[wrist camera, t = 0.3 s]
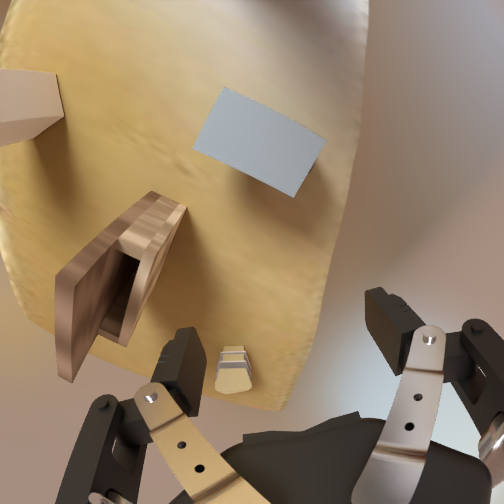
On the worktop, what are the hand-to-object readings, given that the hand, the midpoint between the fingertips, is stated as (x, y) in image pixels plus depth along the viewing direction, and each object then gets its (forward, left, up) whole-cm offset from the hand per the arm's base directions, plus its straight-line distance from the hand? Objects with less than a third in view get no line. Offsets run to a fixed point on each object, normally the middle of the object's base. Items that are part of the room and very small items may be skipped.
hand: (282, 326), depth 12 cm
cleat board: (+11, -9, -22) cm, 26 cm away
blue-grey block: (-6, -3, -22) cm, 23 cm away
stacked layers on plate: (+26, +9, -23) cm, 36 cm away
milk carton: (0, -33, -22) cm, 40 cm away
